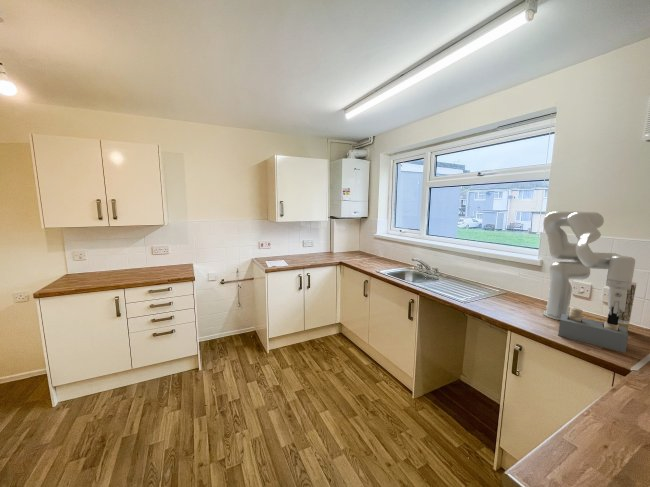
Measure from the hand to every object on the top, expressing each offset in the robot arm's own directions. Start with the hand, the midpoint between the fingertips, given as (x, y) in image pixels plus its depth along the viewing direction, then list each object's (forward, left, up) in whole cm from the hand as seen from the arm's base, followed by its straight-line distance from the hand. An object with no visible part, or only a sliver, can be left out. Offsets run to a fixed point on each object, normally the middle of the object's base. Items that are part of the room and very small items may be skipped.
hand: (612, 323), depth 122 cm
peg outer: (0, 0, -8) cm, 8 cm away
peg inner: (-6, -10, -5) cm, 13 cm away
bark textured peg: (-21, +17, -10) cm, 29 cm away
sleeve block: (-3, -5, -10) cm, 12 cm away
